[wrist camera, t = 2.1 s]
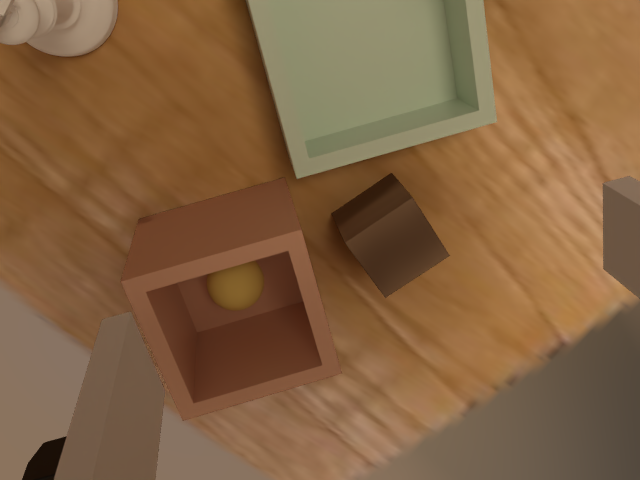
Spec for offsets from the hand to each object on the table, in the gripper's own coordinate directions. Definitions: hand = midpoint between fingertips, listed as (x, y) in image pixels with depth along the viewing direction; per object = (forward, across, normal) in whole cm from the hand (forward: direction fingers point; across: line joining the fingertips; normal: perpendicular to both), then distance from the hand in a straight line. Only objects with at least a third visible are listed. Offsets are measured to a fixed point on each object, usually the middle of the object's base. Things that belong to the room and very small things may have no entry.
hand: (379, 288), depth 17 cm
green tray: (+17, +4, +4) cm, 18 cm away
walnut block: (+17, +3, -6) cm, 18 cm away
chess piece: (+17, -9, +8) cm, 21 cm away
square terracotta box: (+17, -5, -6) cm, 19 cm away
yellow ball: (+16, -5, -6) cm, 18 cm away
